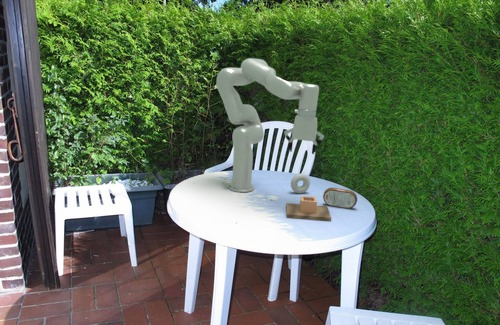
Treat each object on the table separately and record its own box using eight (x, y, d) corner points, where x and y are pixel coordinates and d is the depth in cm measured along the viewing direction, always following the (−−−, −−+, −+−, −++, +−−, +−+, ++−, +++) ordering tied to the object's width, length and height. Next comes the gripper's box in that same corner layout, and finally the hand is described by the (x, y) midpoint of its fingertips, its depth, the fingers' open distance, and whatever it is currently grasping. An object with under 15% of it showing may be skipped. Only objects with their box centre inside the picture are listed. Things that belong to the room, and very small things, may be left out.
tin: (356, 208, 176) (358, 190, 174) (355, 210, 173) (357, 192, 171) (322, 203, 181) (324, 185, 179) (321, 205, 178) (323, 187, 176)
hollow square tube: (300, 212, 163) (301, 200, 162) (299, 207, 169) (300, 196, 168) (315, 213, 163) (317, 202, 161) (314, 208, 169) (315, 197, 168)
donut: (307, 191, 196) (309, 172, 194) (310, 194, 193) (312, 174, 191) (288, 192, 194) (290, 172, 192) (291, 194, 191) (292, 174, 188)
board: (286, 217, 160) (287, 214, 160) (286, 206, 173) (286, 203, 173) (330, 221, 159) (331, 217, 158) (326, 209, 172) (327, 206, 172)
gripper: (286, 112, 163) (281, 152, 168) (328, 116, 162) (322, 156, 167) (286, 110, 171) (282, 148, 175) (326, 114, 169) (320, 152, 174)
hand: (301, 152), depth 171 cm, fingers open, 9 cm apart
